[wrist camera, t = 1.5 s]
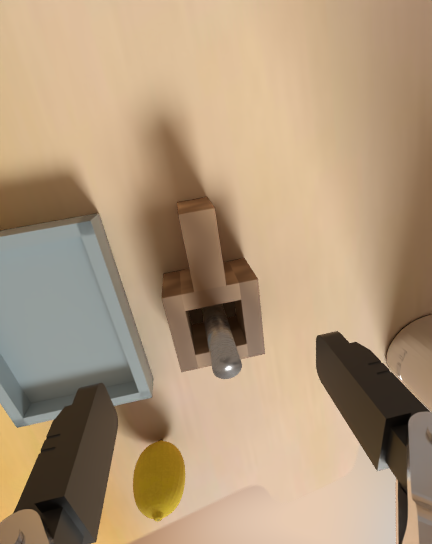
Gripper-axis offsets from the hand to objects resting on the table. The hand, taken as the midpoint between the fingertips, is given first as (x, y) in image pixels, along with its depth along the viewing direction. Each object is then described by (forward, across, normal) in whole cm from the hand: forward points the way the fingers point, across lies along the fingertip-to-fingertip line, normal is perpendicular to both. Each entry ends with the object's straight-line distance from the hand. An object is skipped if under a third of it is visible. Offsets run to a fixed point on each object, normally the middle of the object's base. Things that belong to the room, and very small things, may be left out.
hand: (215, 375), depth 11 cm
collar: (+16, -1, +3) cm, 16 cm away
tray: (+15, +13, +5) cm, 21 cm away
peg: (+15, -1, +6) cm, 17 cm away
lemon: (+16, +8, +24) cm, 30 cm away
